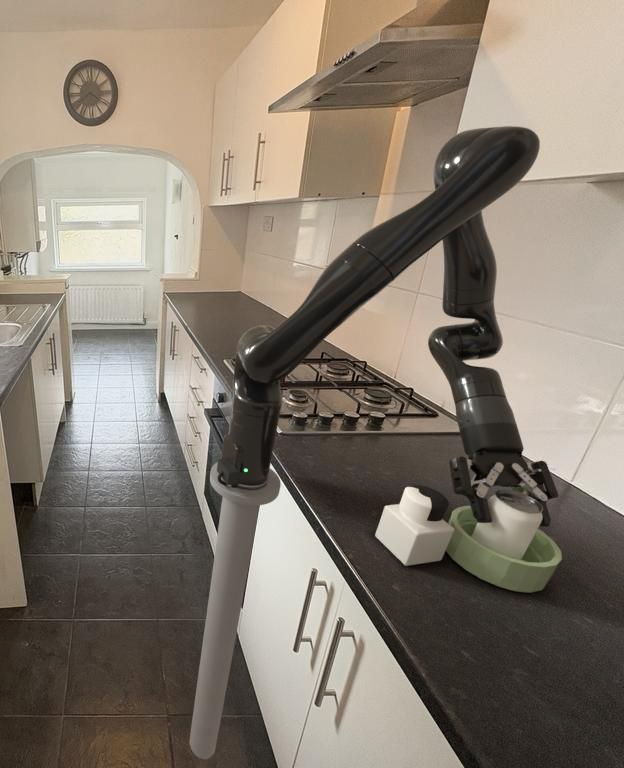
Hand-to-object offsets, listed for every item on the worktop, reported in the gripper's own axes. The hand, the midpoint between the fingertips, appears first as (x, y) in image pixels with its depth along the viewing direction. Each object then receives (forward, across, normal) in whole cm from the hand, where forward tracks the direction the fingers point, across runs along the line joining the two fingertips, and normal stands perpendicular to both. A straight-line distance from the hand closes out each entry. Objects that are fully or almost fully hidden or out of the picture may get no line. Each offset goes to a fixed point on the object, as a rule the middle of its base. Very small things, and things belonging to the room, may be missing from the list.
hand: (513, 524), depth 66 cm
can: (+5, 0, +7) cm, 8 cm away
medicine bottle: (+4, -12, +8) cm, 16 cm away
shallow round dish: (+6, 0, +7) cm, 9 cm away
